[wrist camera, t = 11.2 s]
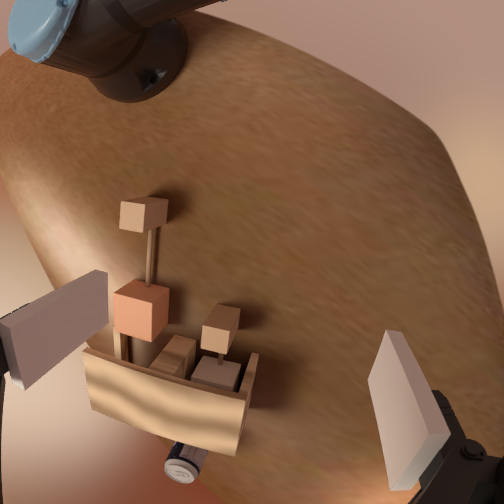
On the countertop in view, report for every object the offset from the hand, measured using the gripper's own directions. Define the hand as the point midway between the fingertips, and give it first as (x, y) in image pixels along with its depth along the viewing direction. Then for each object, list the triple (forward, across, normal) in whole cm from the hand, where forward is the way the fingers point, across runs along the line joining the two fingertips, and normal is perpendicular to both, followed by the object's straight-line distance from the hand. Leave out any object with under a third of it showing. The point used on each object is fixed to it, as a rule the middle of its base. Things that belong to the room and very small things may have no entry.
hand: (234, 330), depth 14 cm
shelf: (+29, -11, -24) cm, 39 cm away
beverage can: (+29, -8, -38) cm, 48 cm away
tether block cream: (+29, -5, -20) cm, 35 cm away
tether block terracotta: (+29, -18, -8) cm, 35 cm away
